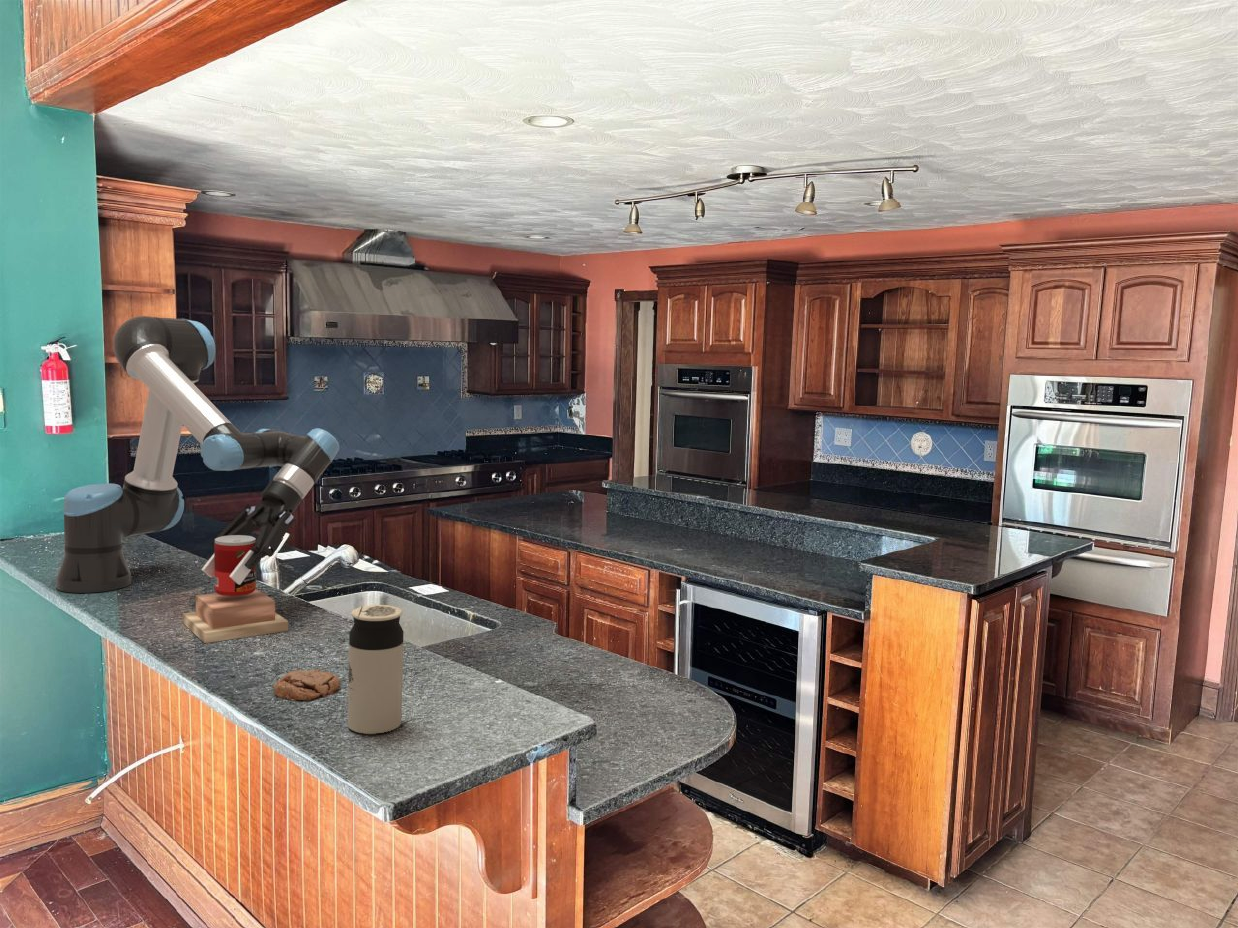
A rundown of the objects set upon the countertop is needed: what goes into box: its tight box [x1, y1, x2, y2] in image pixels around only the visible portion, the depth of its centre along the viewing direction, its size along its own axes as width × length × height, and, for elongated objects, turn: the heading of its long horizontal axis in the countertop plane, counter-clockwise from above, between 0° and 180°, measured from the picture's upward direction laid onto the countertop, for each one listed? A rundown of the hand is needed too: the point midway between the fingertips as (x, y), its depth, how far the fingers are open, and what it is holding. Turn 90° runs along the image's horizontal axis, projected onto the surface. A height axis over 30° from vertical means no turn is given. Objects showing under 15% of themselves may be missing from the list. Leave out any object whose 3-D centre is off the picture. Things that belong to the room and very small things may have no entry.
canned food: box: [213, 535, 257, 596], centre depth 182 cm, size 8×8×11 cm
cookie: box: [273, 669, 341, 701], centre depth 150 cm, size 10×11×3 cm
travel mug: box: [347, 604, 405, 735], centre depth 136 cm, size 8×8×18 cm
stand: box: [182, 587, 289, 644], centre depth 183 cm, size 16×16×6 cm
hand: (220, 576), depth 179 cm, fingers closed on canned food, 8 cm apart
